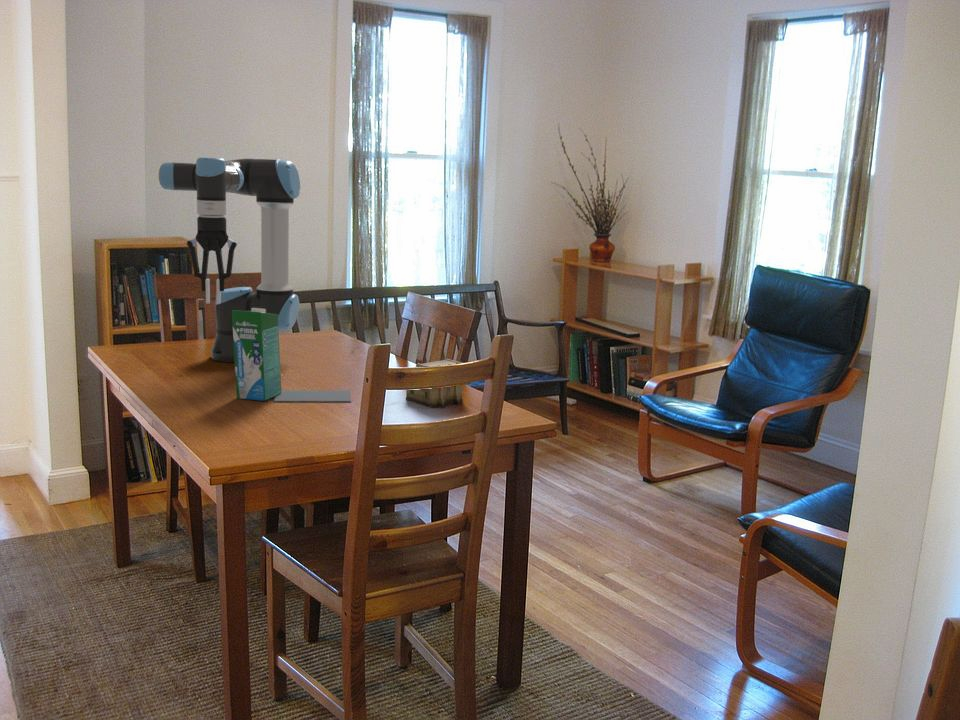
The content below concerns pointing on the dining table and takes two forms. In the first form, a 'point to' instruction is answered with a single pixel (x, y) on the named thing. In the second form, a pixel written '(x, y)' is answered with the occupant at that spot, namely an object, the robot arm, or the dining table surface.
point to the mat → (313, 396)
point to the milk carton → (256, 354)
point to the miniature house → (436, 391)
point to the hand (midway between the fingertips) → (213, 302)
